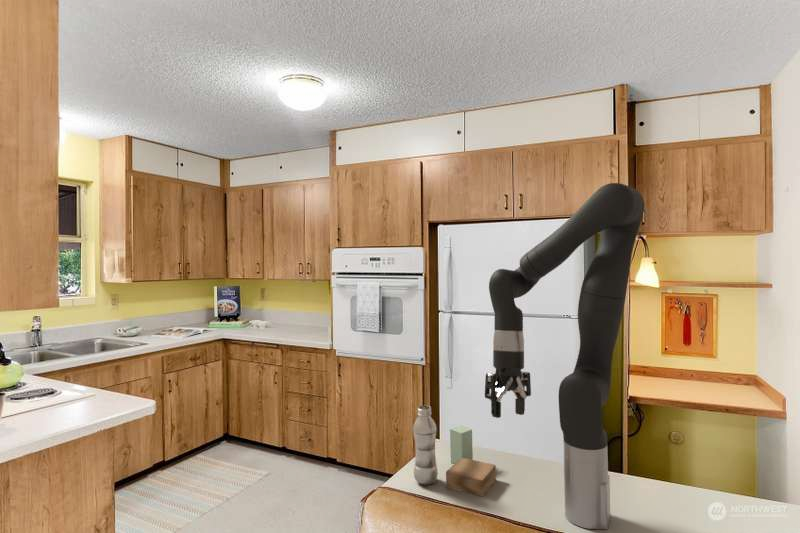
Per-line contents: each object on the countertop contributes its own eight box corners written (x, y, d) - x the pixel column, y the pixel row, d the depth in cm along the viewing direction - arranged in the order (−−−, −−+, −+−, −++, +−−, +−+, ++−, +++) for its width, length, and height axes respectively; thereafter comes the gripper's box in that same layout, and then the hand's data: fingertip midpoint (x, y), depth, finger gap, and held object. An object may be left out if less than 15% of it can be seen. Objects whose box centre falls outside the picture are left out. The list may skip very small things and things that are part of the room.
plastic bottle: (438, 476, 124) (436, 403, 124) (437, 488, 117) (436, 411, 117) (414, 475, 124) (413, 403, 125) (413, 487, 118) (411, 411, 118)
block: (461, 458, 135) (460, 425, 135) (472, 463, 131) (472, 429, 131) (450, 463, 132) (450, 429, 132) (462, 468, 128) (461, 433, 128)
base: (495, 479, 121) (495, 464, 121) (482, 496, 113) (482, 480, 113) (461, 471, 126) (461, 457, 126) (446, 487, 118) (445, 471, 118)
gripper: (500, 350, 106) (500, 421, 104) (539, 349, 114) (539, 416, 112) (477, 348, 112) (476, 415, 110) (515, 348, 120) (515, 410, 118)
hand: (508, 415), depth 111 cm, fingers open, 8 cm apart
